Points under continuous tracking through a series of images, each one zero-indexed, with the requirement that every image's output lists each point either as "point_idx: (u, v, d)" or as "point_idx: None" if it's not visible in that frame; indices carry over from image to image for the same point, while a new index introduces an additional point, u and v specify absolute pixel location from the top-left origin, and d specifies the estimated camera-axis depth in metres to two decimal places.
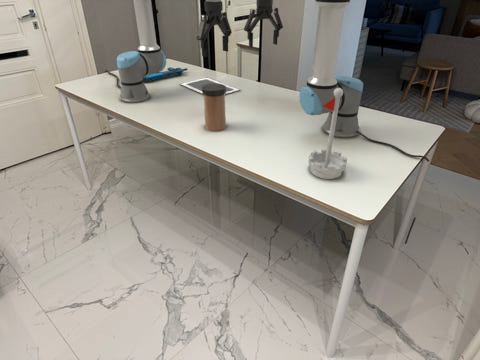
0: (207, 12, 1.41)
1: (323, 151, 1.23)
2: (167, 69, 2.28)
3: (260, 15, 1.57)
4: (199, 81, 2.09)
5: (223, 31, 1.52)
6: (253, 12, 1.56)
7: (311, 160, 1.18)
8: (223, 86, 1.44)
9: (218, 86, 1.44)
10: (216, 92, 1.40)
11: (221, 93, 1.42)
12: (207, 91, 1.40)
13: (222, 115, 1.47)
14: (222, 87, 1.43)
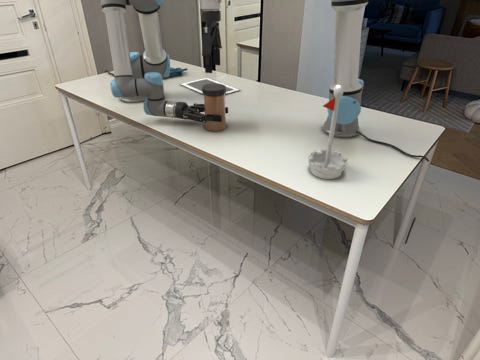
0: None
1: (323, 151, 1.23)
2: None
3: None
4: (199, 81, 2.09)
5: None
6: None
7: (311, 160, 1.18)
8: (223, 86, 1.44)
9: (218, 86, 1.44)
10: (216, 92, 1.40)
11: (221, 93, 1.42)
12: (207, 91, 1.40)
13: (222, 115, 1.47)
14: (222, 87, 1.43)
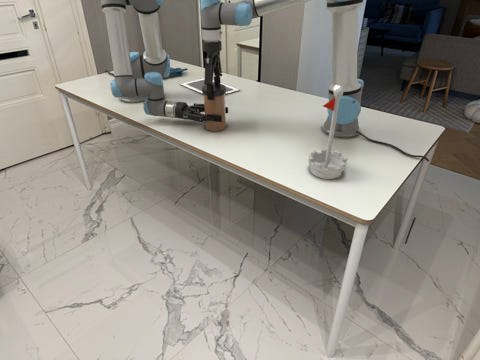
0: None
1: (323, 151, 1.23)
2: None
3: None
4: (199, 81, 2.09)
5: None
6: None
7: (311, 160, 1.18)
8: (223, 86, 1.44)
9: (218, 86, 1.44)
10: (216, 92, 1.40)
11: (221, 93, 1.42)
12: None
13: (222, 115, 1.47)
14: (222, 87, 1.43)
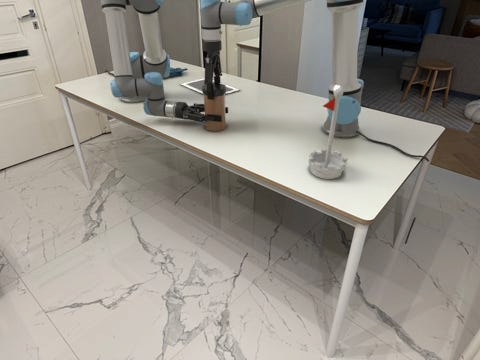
0: None
1: (323, 151, 1.23)
2: None
3: None
4: (199, 81, 2.09)
5: None
6: None
7: (311, 160, 1.18)
8: (215, 83, 1.47)
9: None
10: (225, 88, 1.44)
11: None
12: (222, 90, 1.41)
13: (222, 115, 1.47)
14: (217, 83, 1.47)
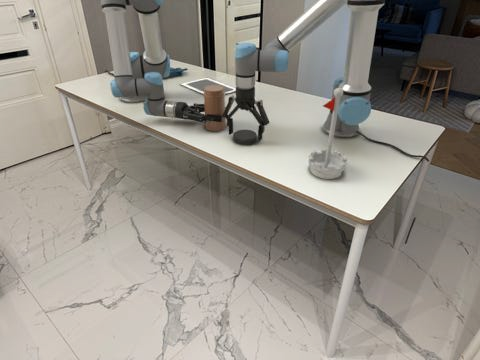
0: None
1: (323, 151, 1.23)
2: None
3: None
4: (199, 81, 2.09)
5: None
6: (229, 100, 1.35)
7: (311, 160, 1.18)
8: (235, 133, 1.42)
9: (240, 134, 1.42)
10: None
11: None
12: None
13: None
14: (237, 132, 1.43)
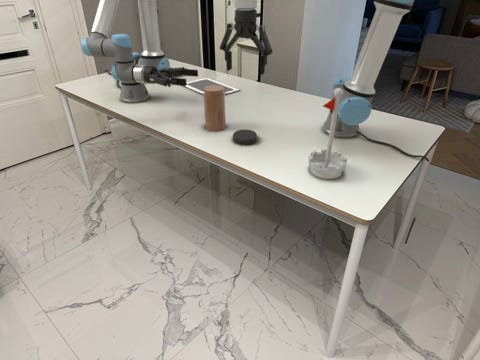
0: None
1: (323, 151, 1.23)
2: None
3: (236, 32, 1.20)
4: (199, 81, 2.09)
5: None
6: (228, 27, 1.20)
7: (311, 160, 1.18)
8: (235, 133, 1.42)
9: (240, 134, 1.42)
10: None
11: None
12: None
13: (222, 115, 1.47)
14: (237, 132, 1.43)
